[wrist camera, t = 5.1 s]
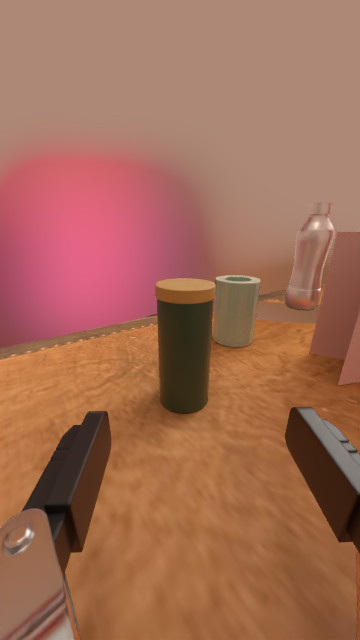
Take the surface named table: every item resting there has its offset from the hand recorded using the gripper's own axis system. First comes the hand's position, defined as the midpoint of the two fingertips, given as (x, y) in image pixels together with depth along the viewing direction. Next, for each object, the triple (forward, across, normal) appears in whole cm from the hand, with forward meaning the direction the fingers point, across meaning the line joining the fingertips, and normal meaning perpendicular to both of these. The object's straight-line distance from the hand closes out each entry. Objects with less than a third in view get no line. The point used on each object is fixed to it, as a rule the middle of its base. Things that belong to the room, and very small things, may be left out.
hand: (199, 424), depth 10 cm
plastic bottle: (+37, -26, +7) cm, 46 cm away
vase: (+23, -8, +7) cm, 26 cm away
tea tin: (+10, 0, +7) cm, 12 cm away
